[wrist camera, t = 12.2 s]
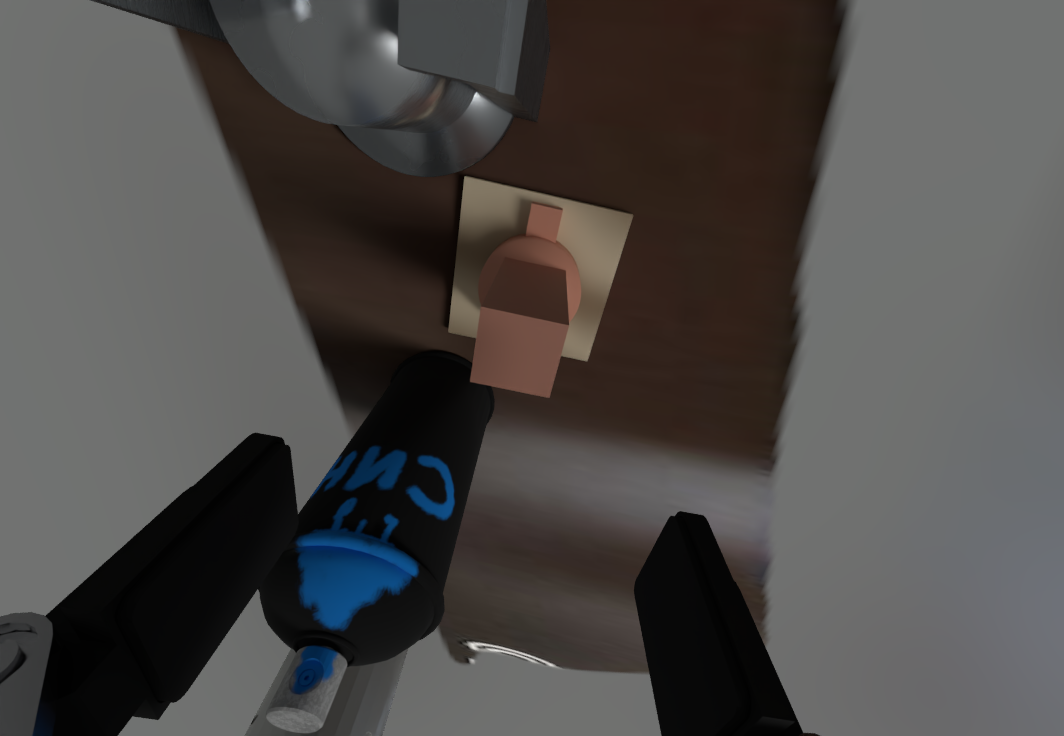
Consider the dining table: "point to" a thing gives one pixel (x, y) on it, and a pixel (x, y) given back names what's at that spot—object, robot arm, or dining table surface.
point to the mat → (505, 214)
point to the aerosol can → (377, 536)
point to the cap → (526, 307)
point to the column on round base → (386, 67)
